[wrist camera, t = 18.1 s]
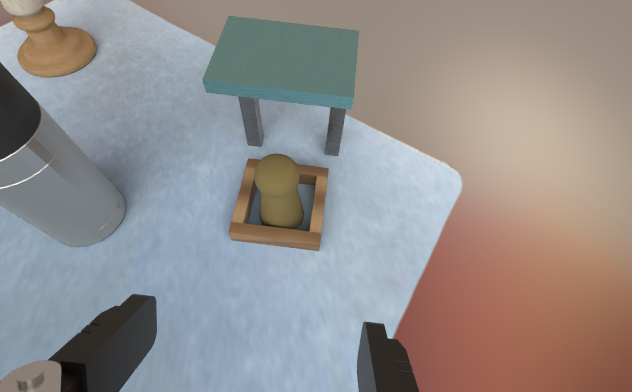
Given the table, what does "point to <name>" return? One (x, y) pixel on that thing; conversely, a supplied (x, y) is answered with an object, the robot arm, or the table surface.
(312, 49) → the mint green stool
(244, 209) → the socket
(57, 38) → the candle holder
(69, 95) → the table surface
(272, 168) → the cork
